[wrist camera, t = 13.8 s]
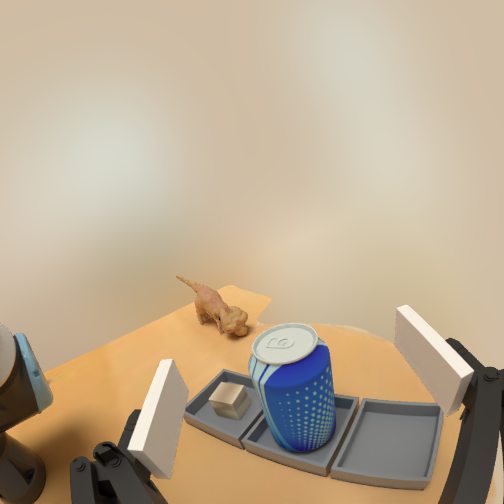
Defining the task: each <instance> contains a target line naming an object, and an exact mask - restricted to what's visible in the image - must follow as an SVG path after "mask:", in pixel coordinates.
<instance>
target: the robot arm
mask: <svg viewBox="0 0 504 504" xmlns="http://www.w3.org/2000/svg"><path fill="white" fill-rule="evenodd" d="M394 345H395V346H396V348H397V349H398V350H399V352H400V353H401V354H402V356H403V357H404V358H405V359H406V361H407V362H408V363H409V365H410V366H411V367H412V369H413V370H414V372H415V373H416V374H417V376H418V377H419V378H420V380H421V381H422V382H423V384H424V385H425V387H426V388H427V389H428V391H429V392H430V394H431V395H432V396H433V398H434V399H435V401H436V402H437V403H438V405H439V406H440V408H441V409H442V411H443V412H444V414H445V415H446V417H448V416H449V415H451V414H453V413H454V412H456V411H458V410H459V408H460V406H461V403H463V404H464V406H465V409H464V411H463V413H462V415H461V417H460V420H461V419H462V423H461V429H460V433H459V438H458V442H457V446H456V450H455V454H454V458H453V462H452V465H451V468H450V472H449V475H448V478H447V481H446V484H445V487H444V489H443V492H442V495H441V497H440V500H439V502H438V504H485V502H486V499H487V495H488V491H489V488H490V484H491V479H492V475H493V470H494V465H495V460H496V454H497V448H498V439H499V431H500V434H501V443H502V452H503V468H504V369H502V370H498V369H496V368H494V367H484V366H483V365H482V364H481V363H480V362H479V361H478V360H477V359H476V358H475V357H474V356H473V355H472V354H471V353H470V352H468V350H467V349H466V348H464V346H463V345H462V344H461V343H460V342H459V341H457V340H455V339H452V338H449V339H447V340H444V339H443V338H442V337H441V336H440V335H439V334H438V333H437V332H436V331H434V329H432V328H431V327H430V326H429V325H428V324H427V323H426V322H425V321H424V320H423V319H422V318H421V317H420V316H419V315H418V314H417V313H416V312H415V311H413V310H412V309H411V308H410V307H409V306H408V305H404V306H401V307H398V308H396V328H395V344H394ZM188 394H189V390H188V388H187V386H186V385H185V383H184V381H183V379H182V377H181V375H180V373H179V371H178V369H177V367H176V365H175V362H174V360H173V359H166V360H161V362H160V364H159V366H158V369H157V371H156V374H155V376H154V379H153V382H152V384H151V387H150V389H149V392H148V394H147V397H146V400H145V402H144V405H143V408H142V410H138V409H135V410H134V411H133V412H132V414H131V415H130V416H129V418H128V421H127V423H126V424H127V425H126V426H125V428H124V431H123V433H122V436H121V438H120V441H119V443H118V446H116V445H115V444H114V443H112V442H106V441H105V442H102V443H100V444H98V445H97V446H96V447H95V449H94V451H93V457H94V458H95V459H96V460H97V461H95V462H91V461H90V460H88V459H87V458H86V457H77V458H75V459H74V460H73V461H72V462H71V464H70V485H71V499H72V504H168V503H167V501H166V500H165V499H164V497H163V496H162V494H161V493H160V492H159V490H158V489H157V487H156V486H155V485H154V483H153V482H152V481H151V480H150V475H151V474H153V475H154V476H155V477H156V478H160V479H171V475H172V470H173V465H174V460H175V455H176V450H177V445H178V440H179V435H180V430H181V426H182V421H183V416H184V412H185V407H186V403H187V398H188ZM52 402H53V394H52V392H51V389H50V387H49V385H48V383H47V381H46V379H45V377H44V374H43V372H42V370H41V368H40V366H39V364H38V362H37V360H36V357H35V355H34V353H33V351H32V348H31V346H30V344H29V342H28V340H27V338H26V336H25V335H24V334H23V333H19V334H17V333H16V334H15V335H14V336H13V335H12V334H11V332H10V331H9V329H8V328H7V327H6V326H4V325H2V324H1V323H0V500H2V501H3V502H4V503H5V504H32V503H33V502H34V501H35V500H36V499H37V498H38V496H39V495H40V493H41V491H42V489H43V486H44V483H45V467H44V464H43V462H42V460H41V459H40V458H39V457H38V456H37V455H36V454H35V453H34V452H33V451H32V450H31V449H30V448H28V447H27V446H25V445H23V444H22V443H20V442H19V441H17V440H16V439H14V438H13V437H11V436H10V435H8V434H7V433H6V432H5V431H6V430H8V429H10V428H12V427H14V426H16V425H18V424H19V423H21V422H23V421H25V420H27V419H29V418H31V417H33V416H35V415H36V414H40V413H41V412H42V411H43V410H44V409H46V408H47V407H49V406H50V405H51V404H52ZM462 417H463V418H462ZM503 499H504V498H503ZM503 504H504V500H503Z"/></svg>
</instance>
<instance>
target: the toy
mask: <svg viewBox="0 0 504 504" xmlns="http://www.w3.org/2000/svg"><path fill="white" fill-rule="evenodd" d="M176 277H177V278H178V279H180V280H181V281H183V282H184V283H186V284H187V285H189V286H191V287H192V288H193V289H194V291H195V292H196V293H197V296H198V297H197V298H196V300H195V305H196V309H197V310H196V312H197V316H198V319H199V321H200V323H201V324H202V319H203V320H204V321H205V320H206V318H208V319H210V316H209V315H208V313H210V314H212V316H213V318H214V320H215V321H216V322H217V325H218V331H219V332H220V333H221V329H222V330H224V332H226V333H233V332H234V333H235V334H236V335H238V336H242V335H246V333H247V330H248V326H246V325H245V322H246V321H247V318H248V317H247V316H248V315H247V313H246V312H244V311H242V310H241V309H240V308H238V307H235V306H232V307H230V306H229V307H228V306H227V304H226V303H224V302H223V300H222V299H221V296H220V295H219V294H218V292H217V291H214V290H212V289H211V288H209V287H207V286H204V285H201V284H197V283H195V282H190V281H189V280H186V279H183V278H181V277H179V276H176ZM206 311H207V312H208V313H206ZM219 318H220V319H221V322H220V320H219Z"/></svg>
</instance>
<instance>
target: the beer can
mask: <svg viewBox="0 0 504 504" xmlns="http://www.w3.org/2000/svg"><path fill="white" fill-rule="evenodd" d="M248 369H249V373H250V376H251V379H252V382H253V385H254V387H255V390H256V393H257V396H258V399H259V401H260V404H261V407H262V409H263V412H264V415H265V417H266V420H267V423H268V425H269V428H270V431H271V433H272V436H273V438H274V440H275V441H276V443H277V444H278V445H280V446H281V447H282V448H284V449H287V450H290V451H297V452H302V451H309V450H313V449H315V448H318V447H320V446H321V445H323V444H324V443H326V442H327V441H328V440H329V439H330V438H331V436H332V435H333V433H334V431H335V428H336V412H335V400H334V389H333V379H332V369H331V360H330V352H329V349H328V347H327V345H326V344H325V343H324V342H323V341H322V340H321V339H320V338H319V337H318V334H317V332H316V330H315V329H314V328H312V327H311V326H309V325H306V324H302V323H286V324H281V325H277V326H274V327H272V328H269V329H267V330H265V331H264V332H262V333H261V334H260V335H259V336H257V338H256V339H255V340H254V342H253V344H252V355H251V357H250V360H249V365H248Z"/></svg>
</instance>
